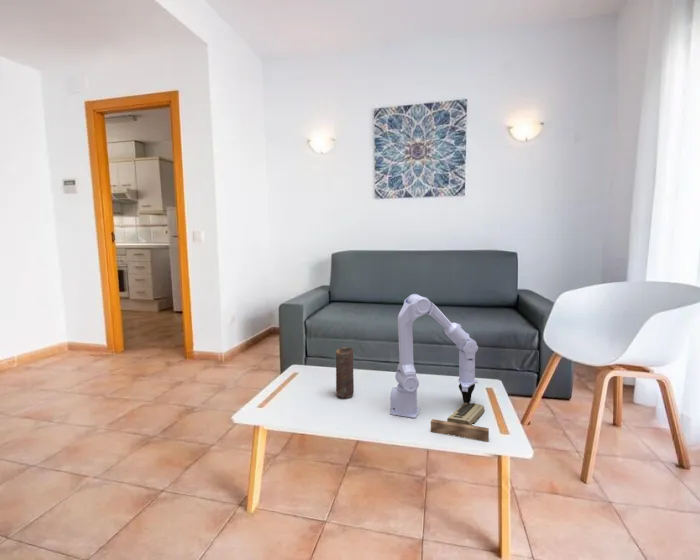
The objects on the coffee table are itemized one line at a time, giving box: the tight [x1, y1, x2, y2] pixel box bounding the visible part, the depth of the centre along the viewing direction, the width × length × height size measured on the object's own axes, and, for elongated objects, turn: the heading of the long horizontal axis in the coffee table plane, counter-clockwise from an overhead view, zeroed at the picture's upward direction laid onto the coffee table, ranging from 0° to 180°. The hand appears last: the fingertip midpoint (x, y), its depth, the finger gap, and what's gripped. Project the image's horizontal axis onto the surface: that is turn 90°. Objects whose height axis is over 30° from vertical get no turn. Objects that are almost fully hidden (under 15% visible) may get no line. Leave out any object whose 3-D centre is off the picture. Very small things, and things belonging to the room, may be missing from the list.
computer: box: [446, 402, 486, 426], centre depth 134 cm, size 16×8×3 cm, turn 143°
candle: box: [335, 346, 355, 399], centre depth 155 cm, size 8×7×20 cm
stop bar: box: [430, 418, 490, 442], centre depth 122 cm, size 18×2×4 cm, turn 67°
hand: (466, 403), depth 143 cm, fingers closed
